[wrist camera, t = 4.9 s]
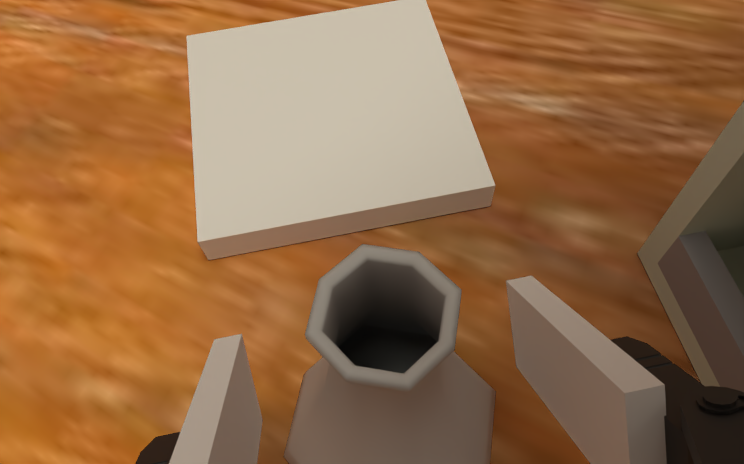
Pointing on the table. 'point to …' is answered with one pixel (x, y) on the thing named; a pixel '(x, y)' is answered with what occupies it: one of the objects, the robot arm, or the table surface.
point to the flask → (389, 369)
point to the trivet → (328, 128)
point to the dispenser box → (706, 261)
